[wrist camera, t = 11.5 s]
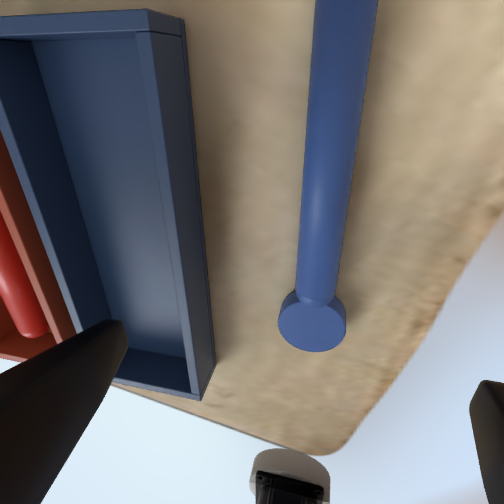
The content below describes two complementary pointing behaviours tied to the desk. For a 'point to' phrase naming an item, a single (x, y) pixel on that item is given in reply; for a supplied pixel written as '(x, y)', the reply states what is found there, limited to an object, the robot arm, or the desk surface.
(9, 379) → the robot arm
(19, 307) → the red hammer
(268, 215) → the desk surface
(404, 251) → the desk surface
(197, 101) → the desk surface
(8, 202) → the far bin
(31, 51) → the near bin
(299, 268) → the blue spoon
